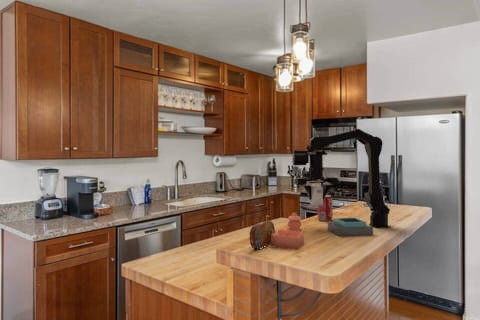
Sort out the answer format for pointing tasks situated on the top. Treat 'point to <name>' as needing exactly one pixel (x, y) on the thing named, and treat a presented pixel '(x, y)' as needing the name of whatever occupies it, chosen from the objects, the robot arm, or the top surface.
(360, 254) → the top surface
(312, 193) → the grey rounded block
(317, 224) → the top surface
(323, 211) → the soda can
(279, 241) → the pottery
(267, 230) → the brown rounded slab
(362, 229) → the teal-collared square flange
